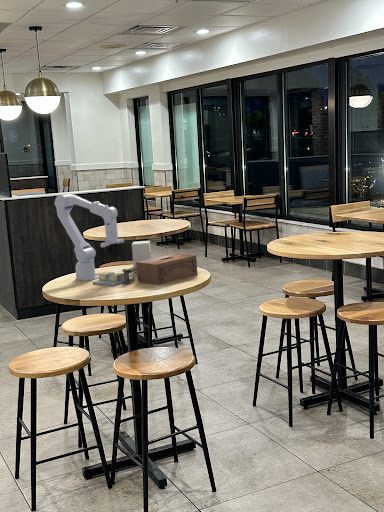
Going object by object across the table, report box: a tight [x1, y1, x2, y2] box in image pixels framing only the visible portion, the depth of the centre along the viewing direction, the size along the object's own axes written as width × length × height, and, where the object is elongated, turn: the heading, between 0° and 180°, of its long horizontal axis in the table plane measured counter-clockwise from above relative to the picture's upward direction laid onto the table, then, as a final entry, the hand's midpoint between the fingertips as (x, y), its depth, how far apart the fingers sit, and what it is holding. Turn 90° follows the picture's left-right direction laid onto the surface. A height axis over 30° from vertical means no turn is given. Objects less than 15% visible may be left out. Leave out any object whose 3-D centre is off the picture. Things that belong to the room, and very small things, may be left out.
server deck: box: [92, 272, 135, 287], centre depth 306 cm, size 18×14×6 cm
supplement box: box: [131, 240, 152, 273], centre depth 331 cm, size 9×9×15 cm
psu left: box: [98, 271, 116, 281], centre depth 309 cm, size 5×6×3 cm
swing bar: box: [121, 265, 137, 274], centre depth 308 cm, size 18×4×2 cm, turn 159°
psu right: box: [109, 272, 124, 282], centre depth 305 cm, size 5×6×3 cm
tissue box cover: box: [136, 252, 199, 286], centre depth 307 cm, size 26×14×10 cm, turn 134°
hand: (114, 259), depth 313 cm, fingers closed
